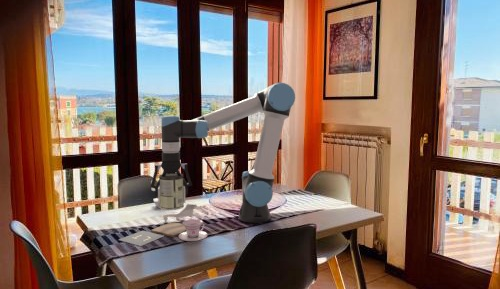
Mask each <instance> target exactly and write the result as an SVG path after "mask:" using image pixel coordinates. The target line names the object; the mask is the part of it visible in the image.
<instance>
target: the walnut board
mask: <svg viewBox="0 0 500 289" xmlns="http://www.w3.org/2000/svg"><path fill="white" fill-rule="evenodd" d="M150 232H151V233H155V234H159V235H163V236H167V237H171V238H175V237H177V236H179V234H180V233H183V232H186V228H185V226H184V225H183V224H182V223H181V222H174V221H170V222H168V223H166V224H163V225H161V226H158V227H155V228H153V229H151V230H150Z"/></svg>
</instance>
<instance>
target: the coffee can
mask: <svg viewBox="0 0 500 289" xmlns="http://www.w3.org/2000/svg"><path fill="white" fill-rule="evenodd" d="M180 174H181V176H178V175H177V173H174V174H173V173H170V174H168V173H166V175H165V176H164V177H162V176H161V175H162V174H159V175H158V179H160V209H161V210H162V211H176V210H177V211H178V210H180V209H181V210H182V209H183V208H184V207H185V203H184V197H183V187H184V184H183V178H184V174H183V173H180Z"/></svg>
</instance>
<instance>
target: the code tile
mask: <svg viewBox="0 0 500 289" xmlns="http://www.w3.org/2000/svg"><path fill="white" fill-rule="evenodd" d="M164 237H165V235H162V234H158V233H154V232H151V231H147V230H141V231H138V232H135V233H132V234H130V235H126V236H124V237H122V238H119V239H118V241H121V242H123V243H127V244H131V245H135V246H138V247H143V246H145V245H147V244H150V243H152V242H155V241H157V240H158V239H162V238H164Z"/></svg>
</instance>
